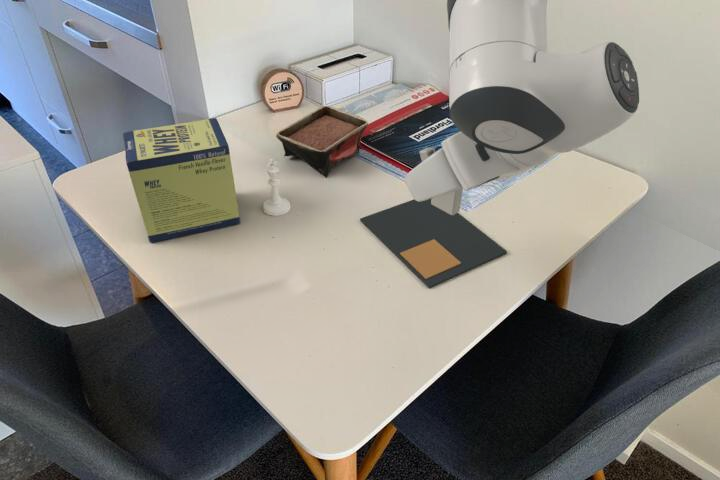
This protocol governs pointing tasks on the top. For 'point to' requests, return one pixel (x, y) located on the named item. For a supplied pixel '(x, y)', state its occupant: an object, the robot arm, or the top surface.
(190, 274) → the top surface
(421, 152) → the lighter
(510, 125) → the robot arm
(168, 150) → the protein box
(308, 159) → the rectangular plant pot
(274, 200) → the chess piece
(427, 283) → the mat
